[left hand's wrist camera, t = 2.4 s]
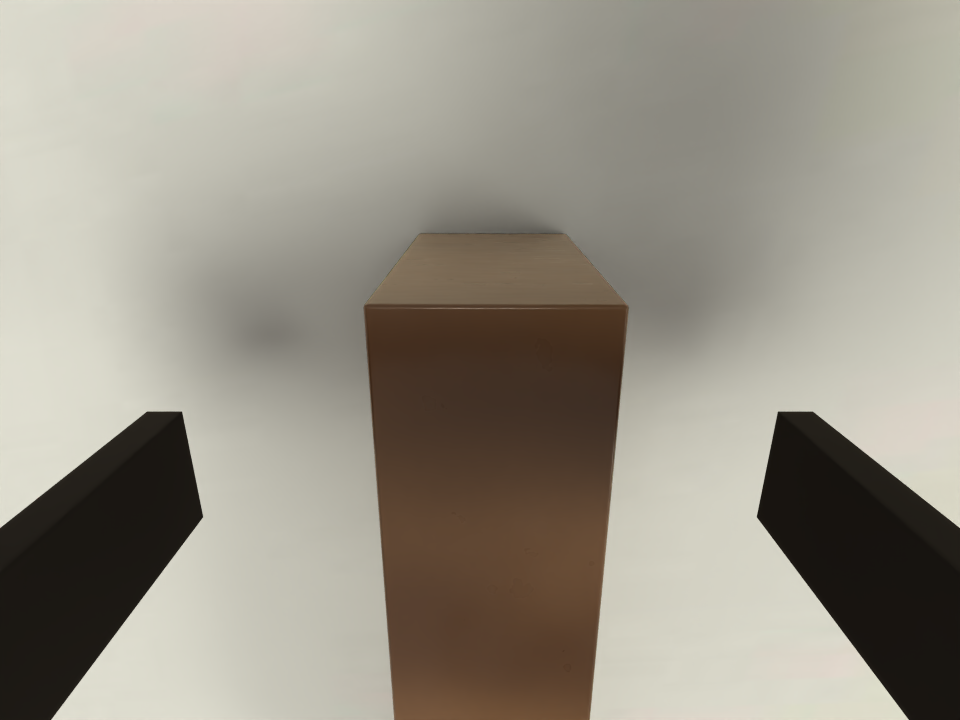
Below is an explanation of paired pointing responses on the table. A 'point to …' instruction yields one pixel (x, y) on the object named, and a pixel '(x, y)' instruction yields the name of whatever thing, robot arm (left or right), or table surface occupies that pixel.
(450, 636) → the bar
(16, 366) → the table surface
